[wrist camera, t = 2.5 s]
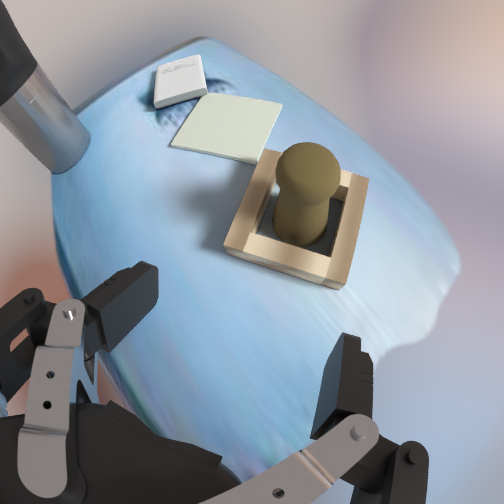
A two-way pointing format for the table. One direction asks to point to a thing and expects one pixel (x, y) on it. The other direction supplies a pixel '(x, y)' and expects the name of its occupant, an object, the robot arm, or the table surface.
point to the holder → (288, 256)
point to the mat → (228, 127)
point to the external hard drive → (179, 81)
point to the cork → (304, 193)
